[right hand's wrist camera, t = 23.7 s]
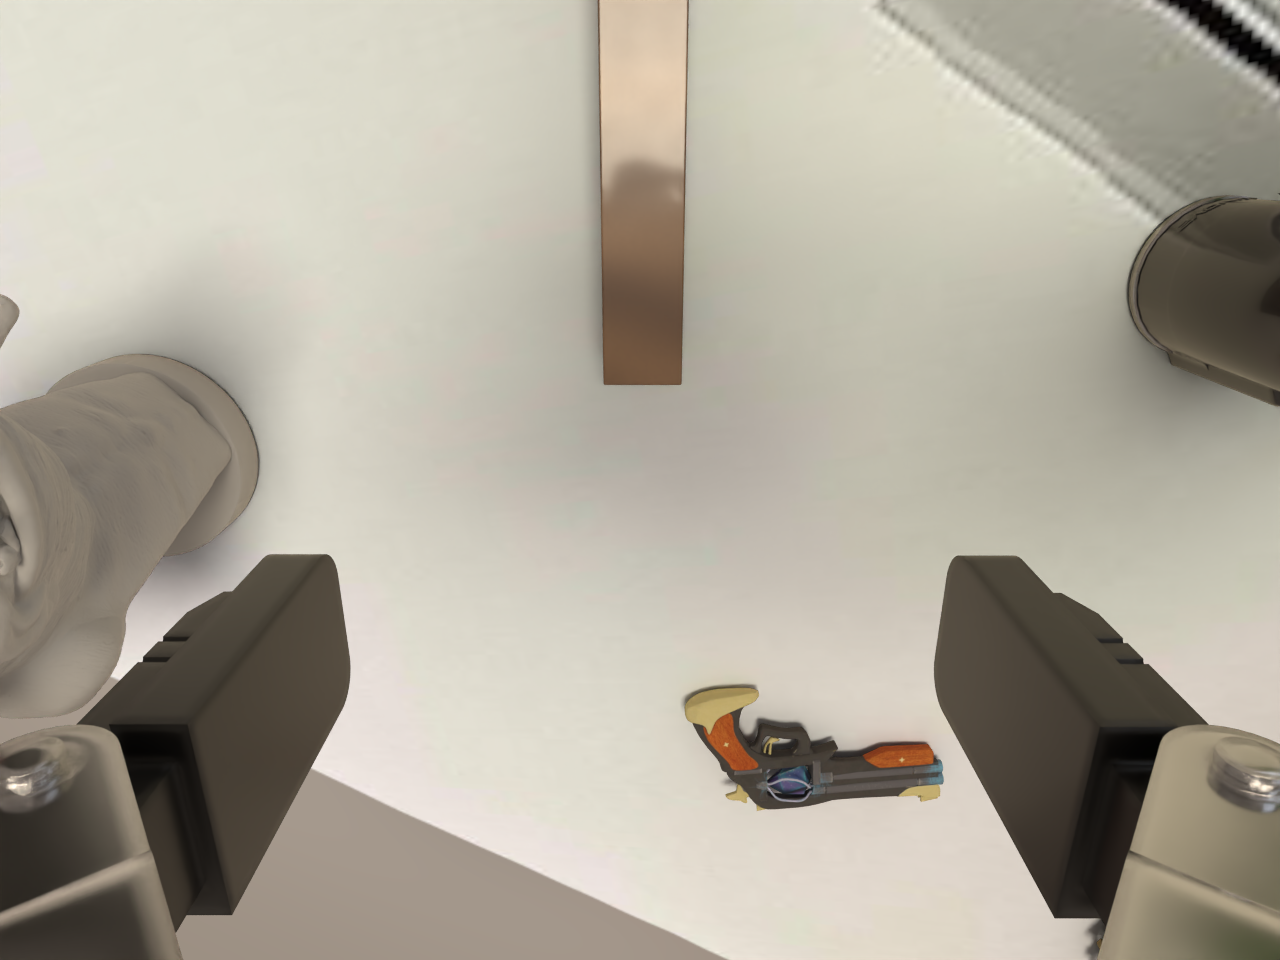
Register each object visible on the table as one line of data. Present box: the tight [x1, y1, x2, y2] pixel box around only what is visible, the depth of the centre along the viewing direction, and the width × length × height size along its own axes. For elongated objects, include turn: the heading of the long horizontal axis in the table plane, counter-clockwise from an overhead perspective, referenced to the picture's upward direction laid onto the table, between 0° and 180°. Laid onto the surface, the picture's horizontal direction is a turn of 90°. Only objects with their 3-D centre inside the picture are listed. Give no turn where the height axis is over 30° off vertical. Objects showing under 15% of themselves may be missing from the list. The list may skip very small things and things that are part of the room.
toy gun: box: [685, 688, 944, 811], centre depth 62 cm, size 3×19×10 cm
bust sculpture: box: [0, 294, 258, 719], centre depth 37 cm, size 16×24×35 cm
